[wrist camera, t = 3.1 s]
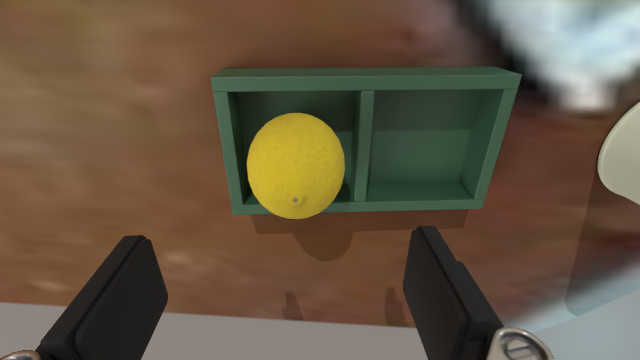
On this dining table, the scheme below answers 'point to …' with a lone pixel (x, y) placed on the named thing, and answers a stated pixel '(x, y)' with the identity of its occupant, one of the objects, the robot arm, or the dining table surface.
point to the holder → (377, 130)
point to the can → (622, 157)
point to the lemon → (295, 165)
